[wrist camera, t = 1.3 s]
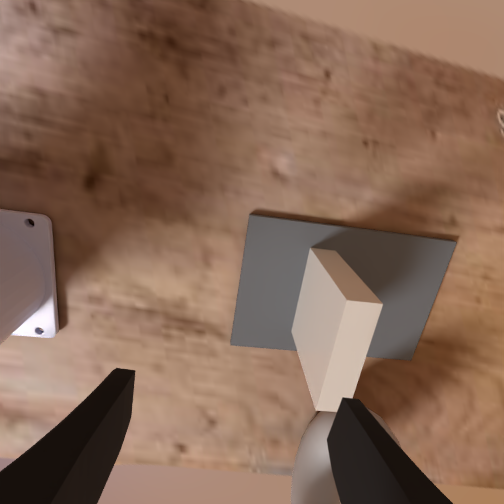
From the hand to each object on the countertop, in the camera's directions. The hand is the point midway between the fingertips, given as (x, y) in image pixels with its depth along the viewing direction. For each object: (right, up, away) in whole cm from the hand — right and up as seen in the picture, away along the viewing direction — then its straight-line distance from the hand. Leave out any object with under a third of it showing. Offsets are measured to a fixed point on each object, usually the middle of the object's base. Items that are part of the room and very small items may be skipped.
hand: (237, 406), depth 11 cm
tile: (+4, +3, +9) cm, 11 cm away
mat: (+6, +3, +10) cm, 12 cm away
